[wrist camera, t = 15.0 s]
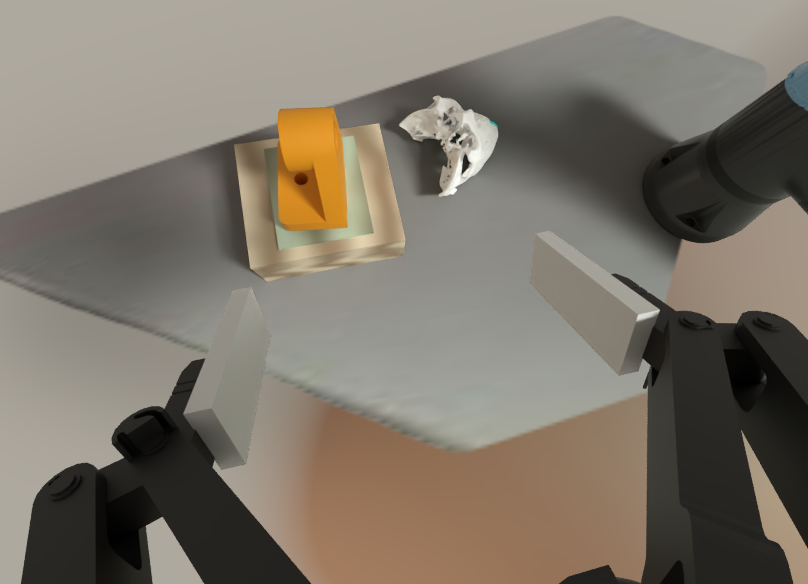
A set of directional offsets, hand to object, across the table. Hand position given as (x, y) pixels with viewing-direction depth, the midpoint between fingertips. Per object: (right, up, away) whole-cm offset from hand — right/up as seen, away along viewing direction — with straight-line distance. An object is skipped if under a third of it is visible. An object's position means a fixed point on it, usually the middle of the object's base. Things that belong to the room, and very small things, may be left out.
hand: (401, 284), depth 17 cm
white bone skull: (+7, +19, +36) cm, 41 cm away
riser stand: (-11, +10, +32) cm, 35 cm away
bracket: (-10, +12, +26) cm, 30 cm away
